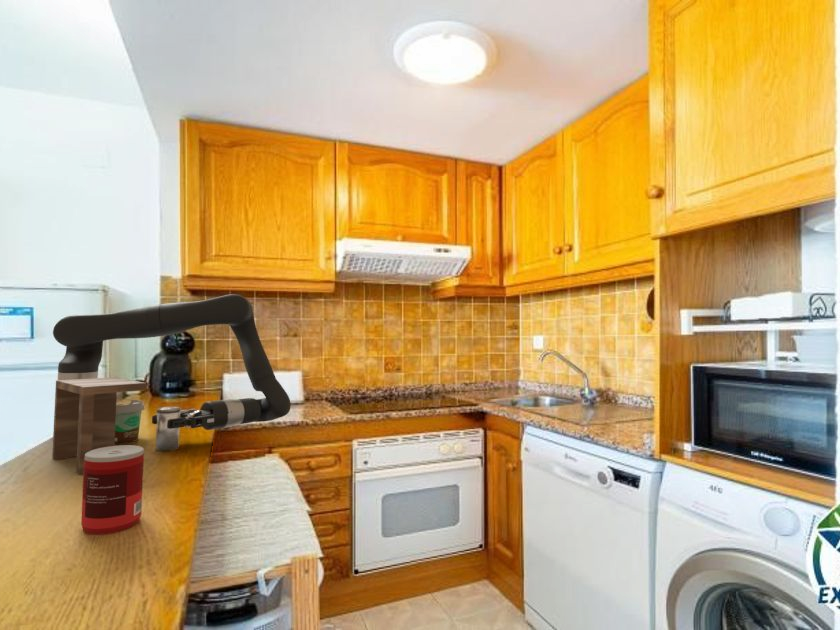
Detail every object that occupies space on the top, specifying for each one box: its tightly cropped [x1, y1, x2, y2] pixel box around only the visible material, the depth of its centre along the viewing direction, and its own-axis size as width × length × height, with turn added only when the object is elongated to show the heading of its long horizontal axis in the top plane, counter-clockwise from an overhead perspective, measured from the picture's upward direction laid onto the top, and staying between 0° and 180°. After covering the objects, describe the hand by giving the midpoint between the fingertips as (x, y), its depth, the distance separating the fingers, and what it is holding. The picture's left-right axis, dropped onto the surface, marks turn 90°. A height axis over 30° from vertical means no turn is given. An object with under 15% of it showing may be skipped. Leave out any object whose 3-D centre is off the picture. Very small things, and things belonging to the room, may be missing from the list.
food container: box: [115, 399, 145, 445], centre depth 124 cm, size 12×6×10 cm, turn 179°
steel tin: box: [155, 406, 181, 452], centre depth 117 cm, size 5×5×10 cm
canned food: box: [80, 444, 145, 535], centre depth 71 cm, size 8×8×11 cm
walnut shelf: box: [51, 376, 148, 475], centre depth 105 cm, size 18×12×18 cm, turn 52°
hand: (160, 422), depth 115 cm, fingers open, 8 cm apart
